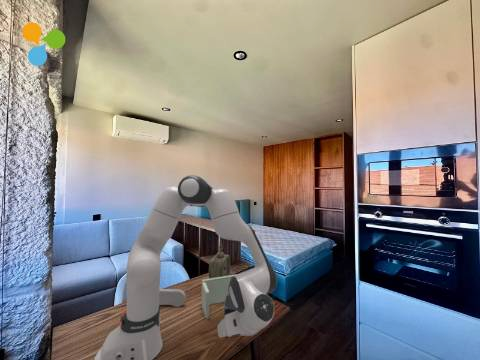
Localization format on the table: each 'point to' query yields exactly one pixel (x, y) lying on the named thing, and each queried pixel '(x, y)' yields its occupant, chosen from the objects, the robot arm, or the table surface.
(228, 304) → the small box
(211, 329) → the table surface
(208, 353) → the table surface
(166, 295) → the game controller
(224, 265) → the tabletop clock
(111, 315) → the table surface
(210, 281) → the rack
